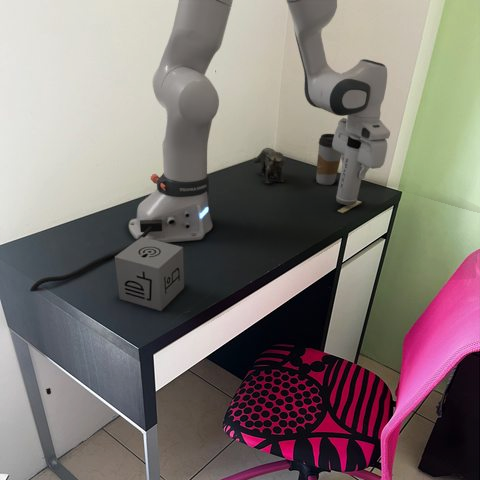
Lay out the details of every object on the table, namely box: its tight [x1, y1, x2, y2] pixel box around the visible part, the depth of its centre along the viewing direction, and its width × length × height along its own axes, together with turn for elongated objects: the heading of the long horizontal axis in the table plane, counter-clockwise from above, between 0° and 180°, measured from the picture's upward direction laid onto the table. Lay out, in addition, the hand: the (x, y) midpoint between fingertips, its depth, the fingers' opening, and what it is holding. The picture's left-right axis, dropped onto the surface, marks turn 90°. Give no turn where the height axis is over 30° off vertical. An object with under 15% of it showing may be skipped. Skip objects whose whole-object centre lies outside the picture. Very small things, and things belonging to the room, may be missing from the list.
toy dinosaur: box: [252, 147, 286, 184], centre depth 162 cm, size 22×8×11 cm, turn 10°
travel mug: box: [335, 136, 362, 206], centre depth 142 cm, size 6×7×20 cm
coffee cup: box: [316, 133, 341, 186], centre depth 161 cm, size 8×8×15 cm
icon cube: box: [114, 237, 185, 312], centre depth 101 cm, size 10×10×10 cm
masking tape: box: [337, 200, 362, 214], centre depth 148 cm, size 12×2×1 cm, turn 140°
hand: (352, 173), depth 143 cm, fingers closed on travel mug, 6 cm apart
